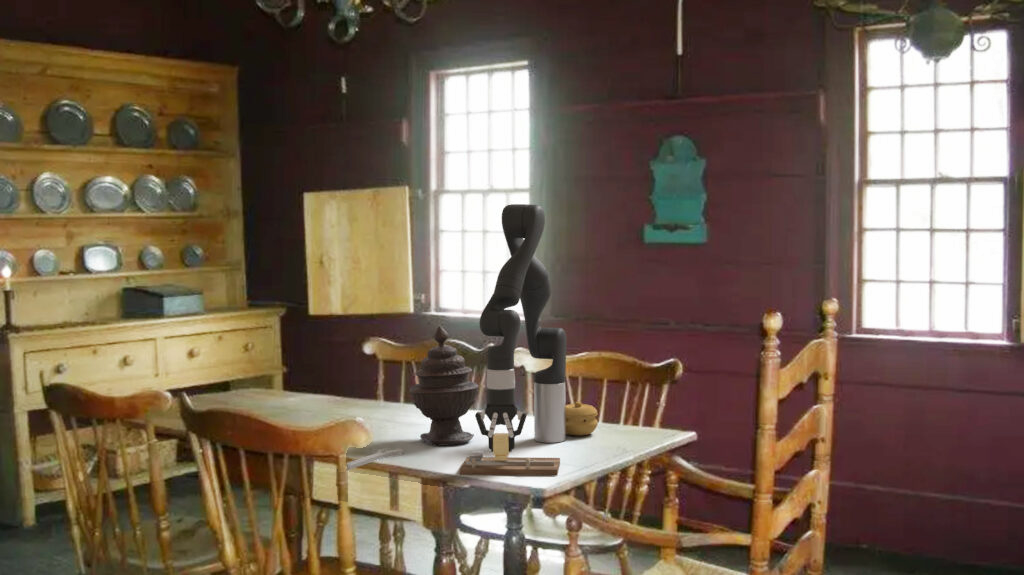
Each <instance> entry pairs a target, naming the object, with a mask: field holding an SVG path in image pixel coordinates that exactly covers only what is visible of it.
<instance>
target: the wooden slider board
mask: <svg viewBox="0 0 1024 575" xmlns="http://www.w3.org/2000/svg"><path fill="white" fill-rule="evenodd" d="M484 455H485V454H484V451H483V450H472V451H471V452H470V454H469V457H468V456H466V457H465V460H464V461H463V462H462V464H461V466H460V468H459V475H463V476H464V475H465V476H467V475H471V476H474V475H475V476H477V475H478V476H479V475H481V476H482V475H483V476H489V475H490V476H552V475H557V476H558V473H559V469H560V466H561V457H510V456H508V458H507V460H506V461H495V456H491V457H489V456H488V457H487V456H484Z"/></svg>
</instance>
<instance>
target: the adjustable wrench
mask: <svg viewBox="0 0 1024 575" xmlns="http://www.w3.org/2000/svg"><path fill="white" fill-rule="evenodd" d="M403 450H404V449H403V448H402V447H398V448H397V449H390V447H384V448H380V449H376V452H375V453H372V454H370V455H367V456H364V457H360V458H357V459H354V460H352V461H348V462H346V463H347V470H346V471H348V470H351V469H355V468H358V467H360V466H363V465H366V464H369V463H372V462H376V461H378V460H377V459H379V460H381V459H384V458H383V457H385V458H389V457H390V456H391V457H395V456H397V455H398V456H402V455H403V452H404V451H403ZM391 457H390V458H391ZM380 458H381V459H380ZM375 460H376V461H375Z"/></svg>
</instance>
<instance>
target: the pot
mask: <svg viewBox="0 0 1024 575" xmlns="http://www.w3.org/2000/svg"><path fill="white" fill-rule="evenodd" d="M597 416H598V410H597V409H596V407H594V406H593V405H590V404H585V403H582V402H580V401H576V402H575V403H571V404H566V435H570V436H575V437H576V436H577V437H579V436H587V435H590V434H592V433H593V432H594V431H596V429H597V426H598V423H599V422H598V419H597V418H596V417H597Z"/></svg>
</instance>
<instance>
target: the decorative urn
mask: <svg viewBox="0 0 1024 575" xmlns="http://www.w3.org/2000/svg"><path fill="white" fill-rule="evenodd" d="M433 338H434V341H436V342H437V343H438V345H437V346H434V347H432V348H429V349H428V350H427V356H426V357H424V358H423V359H422V361H421V365H420V367H421V368H420V369H418V370H417V371H415V372H414V374H415V376H417V377H418V378H419V379H418V380H419V381H418V382H419V383H416V384H414V385H411V386H410V387H409V389H408V390H409V394H410V396H411V398H412V400H413V404H414V406H415V407H416V409H418V410H419V411H420V412H421V414H422V415H423V416H425V417H426V418H427V419H428V418H429V419H430V420H431V423H430V427H429V428H430V429H429V432H424V433H420V436H419V437H420V439H421V441H423V442H424V443H425V444H428V445H430V446H446V445H447V446H450V445H459V444H465V443H468V442H469V441H470V440H472V439H473V438H474V436H475V435H474V433H471V432H469V431H464V430H463V427H462V425H461V421H460V419H459V418H461V417H462V416H465V415H466V414H467V413H468V412H469V410H470V409H471V408H472V406H473V405H474V404H475V402H476V397H477V395H478V391H479V384H477V383H476V382H473V381H469V376H468V374H469V373H471V372H472V371H473V369H472V368H470V367H469V366H466V364H465V360H466V359H465V358H464V357H463V356H462V355H459V354H458V349H457V348H456V347H453V346H452V345H450V344H446V343H445V342H446V341H447V340H448V339H449V333H448V332H447V331H446V330H445V329H444V328H443V327H442V326H441V325H440V324H439V325H438V326H437V328H436V330H435V333H434V334H433Z"/></svg>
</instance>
